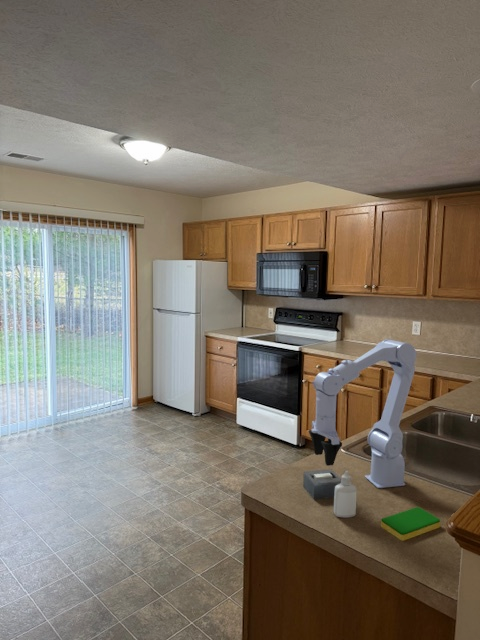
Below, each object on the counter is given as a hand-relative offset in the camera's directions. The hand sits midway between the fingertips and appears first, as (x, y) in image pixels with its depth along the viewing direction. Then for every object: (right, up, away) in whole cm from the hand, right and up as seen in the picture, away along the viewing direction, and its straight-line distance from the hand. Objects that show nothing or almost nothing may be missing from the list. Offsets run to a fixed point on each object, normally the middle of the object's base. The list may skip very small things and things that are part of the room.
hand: (323, 459), depth 129 cm
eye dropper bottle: (+3, -11, -12) cm, 16 cm away
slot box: (0, -10, +1) cm, 10 cm away
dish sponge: (+19, -12, -17) cm, 28 cm away
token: (0, -10, +1) cm, 10 cm away
